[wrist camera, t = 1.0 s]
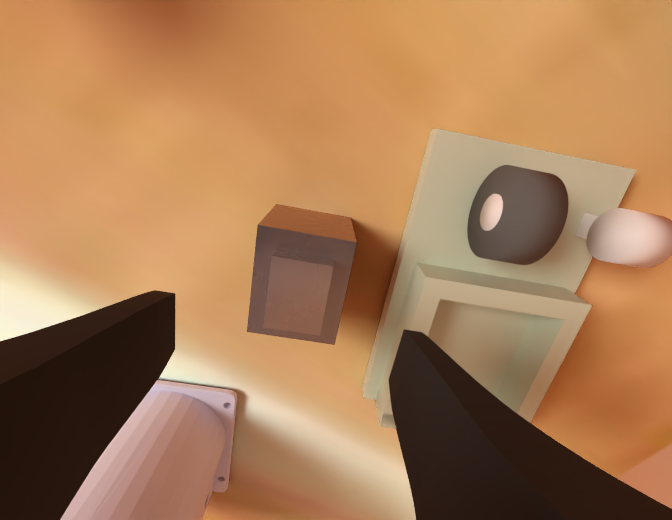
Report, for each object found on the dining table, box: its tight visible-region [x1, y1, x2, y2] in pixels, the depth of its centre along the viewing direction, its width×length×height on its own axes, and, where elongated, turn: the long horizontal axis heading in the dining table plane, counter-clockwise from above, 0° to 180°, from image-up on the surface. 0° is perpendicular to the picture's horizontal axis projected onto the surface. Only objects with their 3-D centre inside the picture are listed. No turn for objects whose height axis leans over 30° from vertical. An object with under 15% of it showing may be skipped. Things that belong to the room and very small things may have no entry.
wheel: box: [467, 165, 569, 265], centre depth 14 cm, size 4×2×4 cm, turn 169°
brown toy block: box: [247, 204, 357, 345], centre depth 15 cm, size 5×4×5 cm
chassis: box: [362, 129, 672, 429], centre depth 16 cm, size 16×10×4 cm, turn 170°
